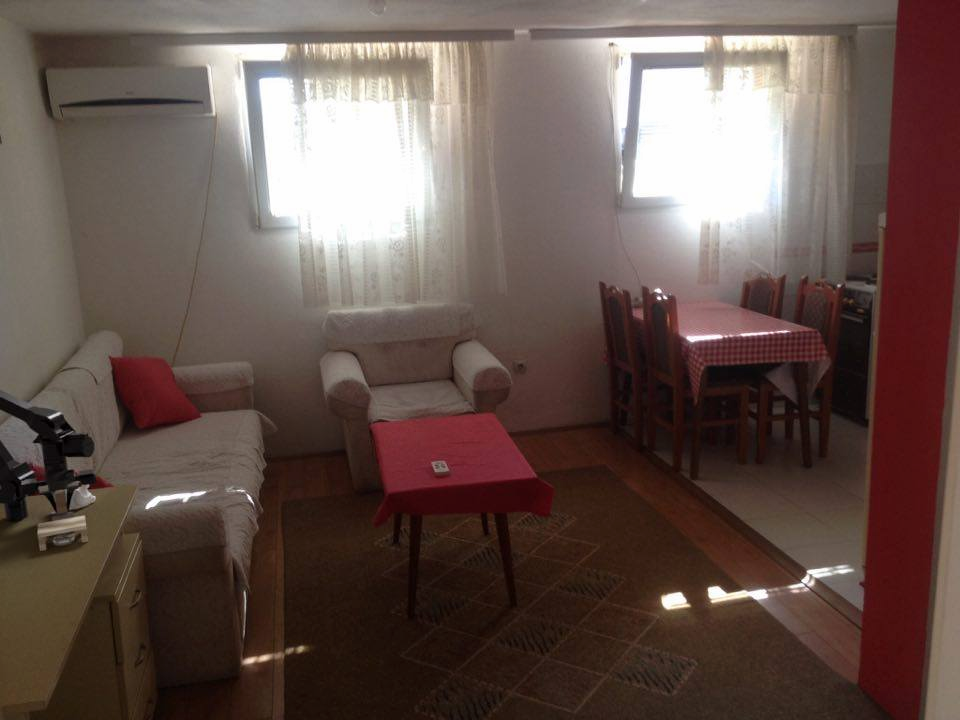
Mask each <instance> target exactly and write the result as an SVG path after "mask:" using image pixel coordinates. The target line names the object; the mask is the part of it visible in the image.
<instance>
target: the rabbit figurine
mask: <svg viewBox="0 0 960 720" xmlns="http://www.w3.org/2000/svg"><path fill="white" fill-rule="evenodd" d="M74 475H76V474H75V473H74ZM88 488H90V484H88V485H83V484H81V486H79V488H78V489H75V490H74V492H73V495H72V498H71V503H70V508H69V511H71V510H77V509H81V508H85V507H87V506H89V505H91V503H92V504H93V503H94V502H95V501H96V496H95V495H92V493H91V492H89V490H88ZM57 491H62V490H57ZM65 496H66V503H67V489H66V490H65ZM56 514H57V513H56V512H55V510H54V511H53V512H50V515H56Z"/></svg>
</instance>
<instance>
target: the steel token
mask: <svg viewBox="0 0 960 720" xmlns="http://www.w3.org/2000/svg"><path fill="white" fill-rule="evenodd" d="M75 537H76V536H75V534H74V533H72V532H69V533H64V534H59V535H55V536H54V537H53V538H52V543H53V546H56V547H57V546H60V547H62V546H66V545H70V544H72V543H74V542H75V541H76V538H75Z"/></svg>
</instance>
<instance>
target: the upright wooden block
mask: <svg viewBox="0 0 960 720" xmlns="http://www.w3.org/2000/svg"><path fill="white" fill-rule="evenodd" d="M54 498H55V502H56V507H57V513H56V514H51V521H56V520H61V519H67V518H72V517H75V516H74V511H69V512H68V511H67V503H66V496H65V490H62V491H54ZM74 532H76V531H72V532H71V533H74ZM67 533H70V532H67ZM67 533H66V534H67ZM61 534H65V533H61ZM61 534H56V535H52V536H54V537H55V536H58V535H61Z"/></svg>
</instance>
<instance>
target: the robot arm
mask: <svg viewBox="0 0 960 720" xmlns="http://www.w3.org/2000/svg"><path fill="white" fill-rule="evenodd" d="M0 411H2V412H4V413H6V414H8V415H10V416H12V417H15V418H16V419H19V420H20V421H23V422H24V423H25V424H26V425H27V426H28V428H29V429H30V430H31V431H33V432H34V433H35V434H37V436H36V437H35V439H34V440H32V443H33V444H39V443H41V445H40V446H41V453H42V459H43V460H42V461H43V467H44V480H40V481H39V480H38V481H37V479H36V476H35V471H34V470H32V468H31V467H30V465H29V463H28V462H27V461H23V462H19V461H17V460H16V459H14V457H13V456H12V455H11V453H10V452H9V450H8V448H7V447H5V445H4V443H3V442H2V440H1V439H0V504H2V505H3V511H4V516H5V520H6V521H7V522H10V523H14V522H20V521H23V520H25V519H26V518H27V517H29V515H30V514H29V508H28V500H27V496H28V495H33V494H35V492H36V491H37V489H38V492H39V494H38V495H39V496H44V497H46V499H47V500H48V501H49V503H50V505H51V507H52V508H53V510H54V511H55V512H56V513H55V514H57V507H56V500H55V492H56V491H57V490H66V489H67V511H69V512H70V510H69V508H70V503H71V498H72V495H73V492H74V490H75V489H78V488H79V487H80V486H79V483H80V484H81V485H88V484H89V485H94V484H97V480H96V479H97V478H96V472H95V470H94V469H92V468H91V469H85V470H80V471H79V472H78V474H77V475H76V474H75V470H74V469H69V466H68V465H69V464H68V458H69V459H70V458H72V459H74V458H75V459H76V458H80V459H81V458H82V459H83V458H91V457H92V456H93V454H94V452H95V442H94V440H93V438H92V437H91V436H89V433H88V432H85V431H83V432H78V433H77V432H76V429H74V427H73V426H71V424H70V423H69V422H68V420H66V419H65V415H64V414H63V413H62V412H60V411H58V410H55V409H51V408H47V407H39V406H36V405H33V404H30V403H29V402H26V401H25V400H22V399H20V398H18V397H16V396H14V395H12V394H9V393H8V392H6V391H4V390H1V389H0ZM74 474H75V475H74Z"/></svg>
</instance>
